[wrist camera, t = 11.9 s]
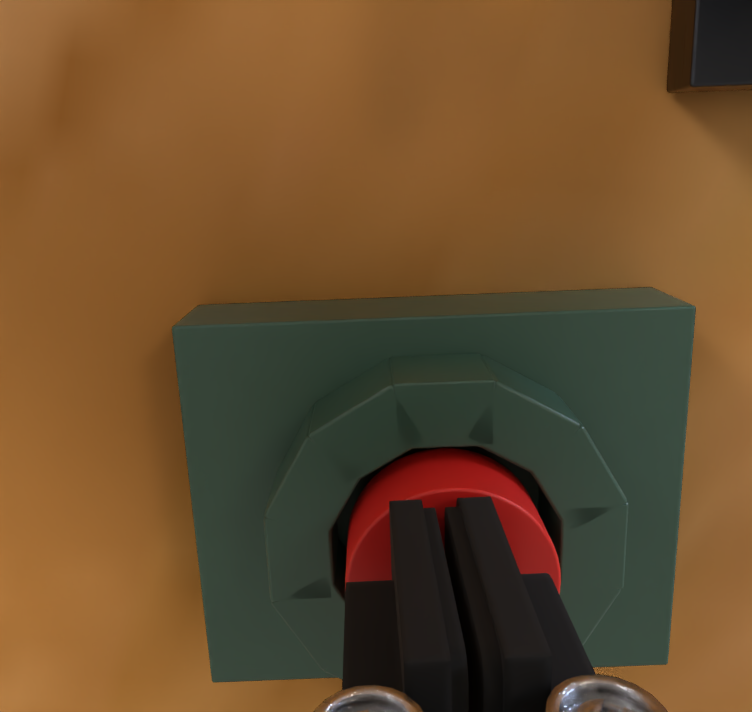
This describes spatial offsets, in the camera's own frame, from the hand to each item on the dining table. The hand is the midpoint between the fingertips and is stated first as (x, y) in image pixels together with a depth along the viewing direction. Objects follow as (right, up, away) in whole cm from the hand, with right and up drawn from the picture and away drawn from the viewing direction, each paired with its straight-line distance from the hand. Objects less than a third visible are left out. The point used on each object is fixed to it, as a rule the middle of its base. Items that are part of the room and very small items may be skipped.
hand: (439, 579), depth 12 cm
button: (0, 0, +2) cm, 2 cm away
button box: (0, +1, +5) cm, 5 cm away
